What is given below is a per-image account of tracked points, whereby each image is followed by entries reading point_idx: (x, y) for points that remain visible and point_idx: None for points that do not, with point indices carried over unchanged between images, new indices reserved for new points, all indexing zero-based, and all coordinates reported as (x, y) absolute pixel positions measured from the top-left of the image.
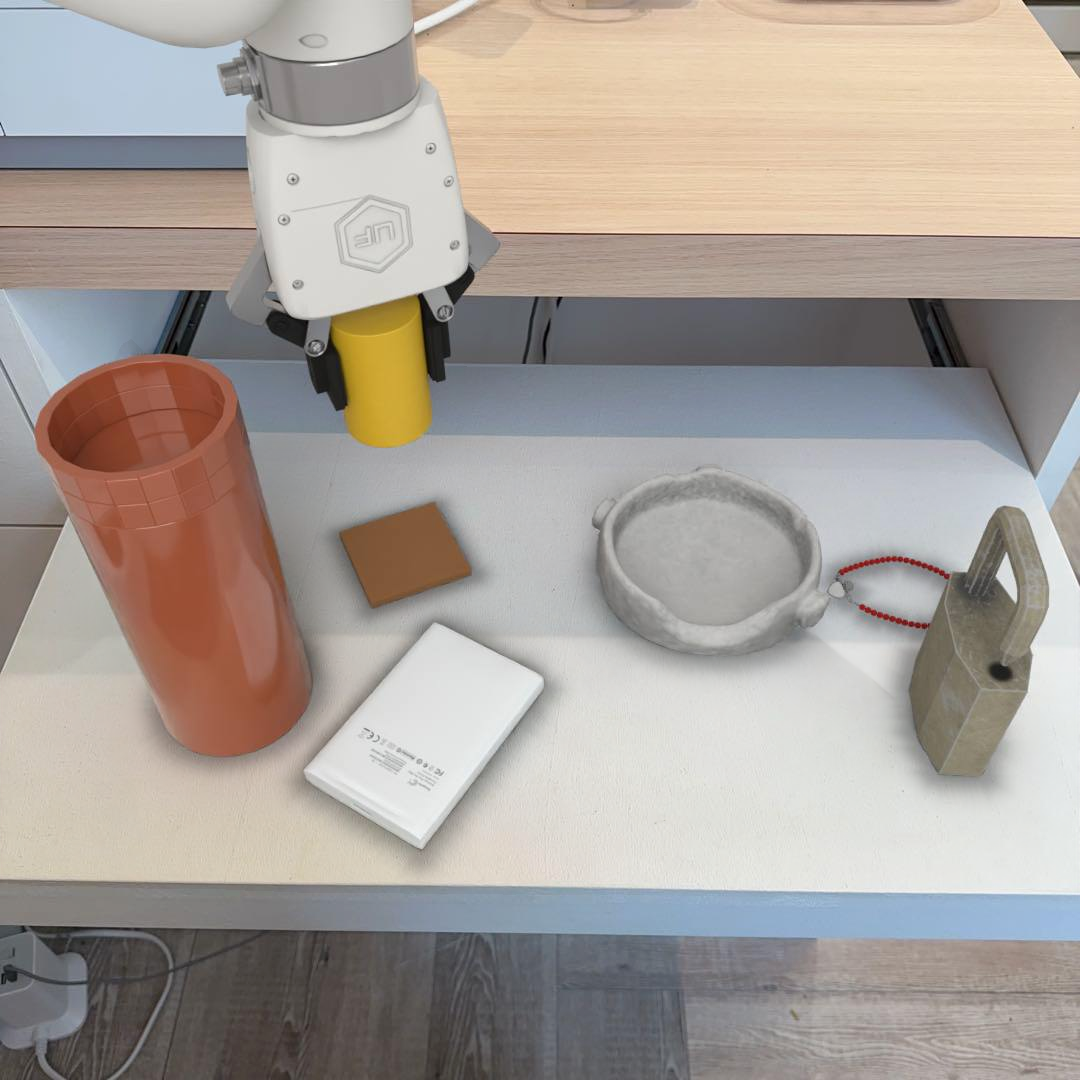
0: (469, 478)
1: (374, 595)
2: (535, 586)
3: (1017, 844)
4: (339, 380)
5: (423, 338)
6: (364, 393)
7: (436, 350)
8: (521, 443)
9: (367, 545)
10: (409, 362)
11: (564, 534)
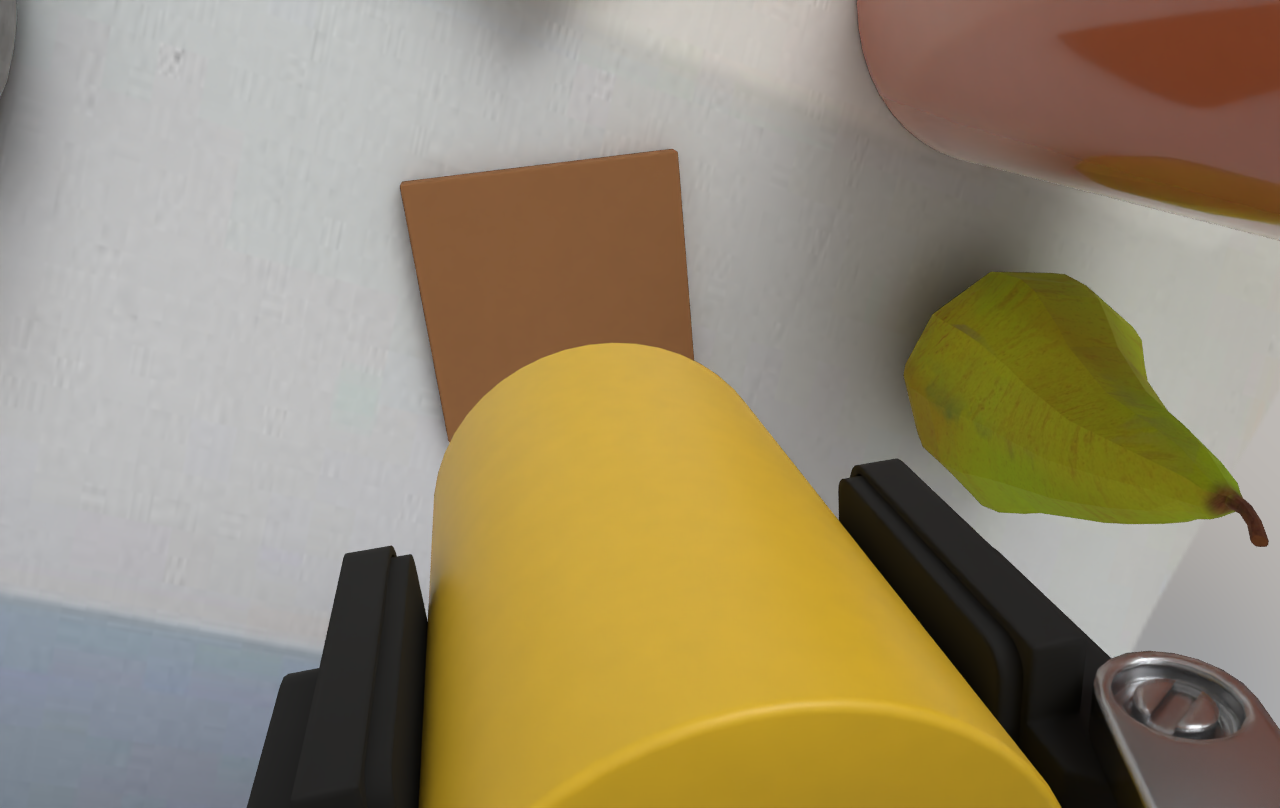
0: (341, 512)
1: (663, 172)
2: (230, 86)
3: None
4: (937, 544)
5: (426, 749)
6: (793, 484)
7: (361, 664)
8: (177, 600)
9: (642, 343)
10: (554, 574)
11: (109, 253)
